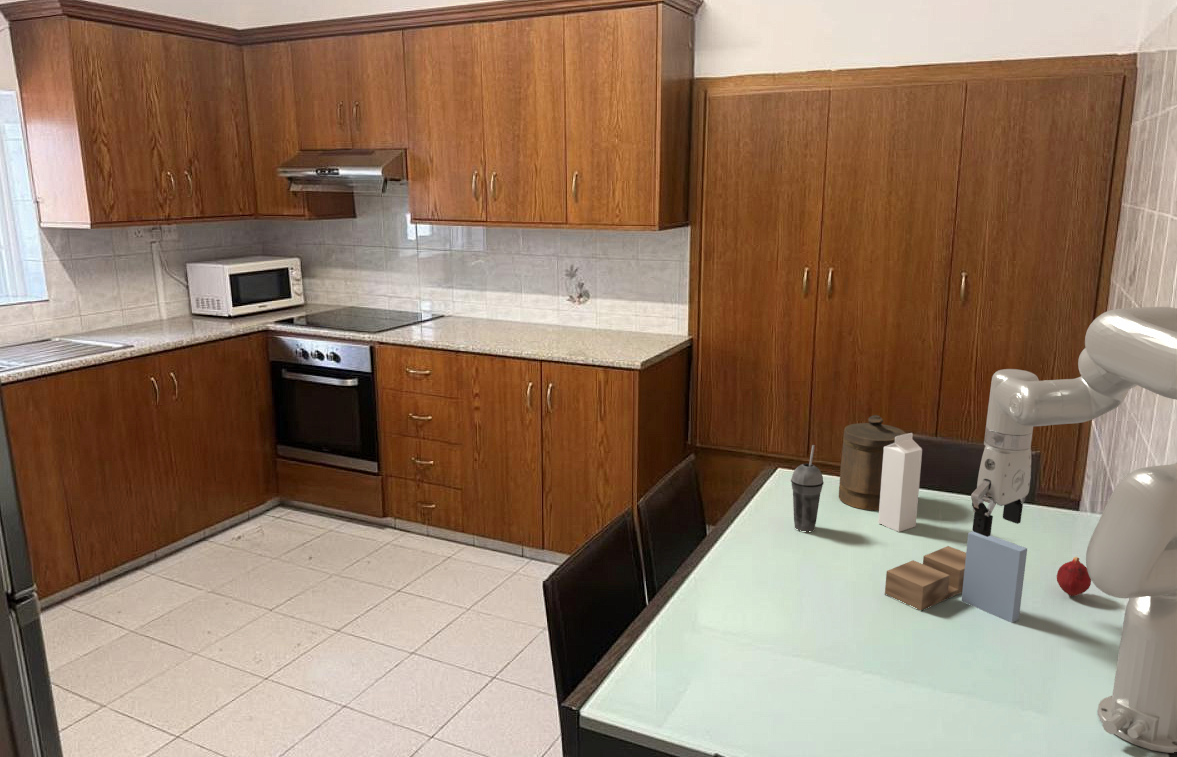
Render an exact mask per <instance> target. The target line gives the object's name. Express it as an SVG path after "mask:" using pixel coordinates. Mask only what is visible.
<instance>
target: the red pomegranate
mask: <svg viewBox="0 0 1177 757" xmlns="http://www.w3.org/2000/svg"><path fill="white" fill-rule="evenodd" d="M1056 582H1057V583H1058V586H1059V587H1060V588H1061V590H1062V591H1063V592H1064V593H1066V594H1067V595H1068V596H1069V597H1076V596H1080V595H1082V594H1084V593H1085V592H1087V591H1088V590H1089V588H1091V585H1092V580H1091V579H1090V577H1089V574H1088V571H1087V566H1085V565H1084V564H1083V563H1082V562H1080V558H1079V557H1078V556H1074V557H1073V558H1072V560H1071V561H1068V562H1065V563H1064V564H1062V565H1061V566H1060V567H1058V570H1057V574H1056Z"/></svg>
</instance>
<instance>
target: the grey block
mask: <svg viewBox="0 0 1177 757" xmlns="http://www.w3.org/2000/svg"><path fill="white" fill-rule="evenodd" d="M966 543H967V544H966V551H965V553H966V560H965V570H964V580H963V590H962V592H961V593H962V594H961V601H960V602H962V603H964V604H967V605H969V604H970V605H969V606H971V605H972V607H974V608H976V609H978V608H979V610H981V611H983V612H986V613H988V614H990V615H992V616H995V617H997V618H998V619H1002V620H1003V621H1006V622H1008V623H1011V624H1012V623H1014V622H1016V621H1018V620H1019V619H1020V614H1021V613H1020V612H1021V605H1022V604H1021V603H1022V595H1023V590H1024V589H1023V588H1024V587H1023V586H1024V580H1025V572H1026V562H1027V555H1028V554H1027V553H1028V548H1027V547H1025V546H1022V545H1019V544H1016V543H1013V542H1011V541H1008V540H1005V539H1003V538H999V537H997V536H993V535H992V534H991V535H990V536H988V537H986V536H984V535H981V534H978V533H976V532H974V531H973V530H972V531H970V532H968V533H967V542H966Z"/></svg>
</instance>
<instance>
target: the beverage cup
mask: <svg viewBox="0 0 1177 757" xmlns="http://www.w3.org/2000/svg"><path fill="white" fill-rule="evenodd" d="M810 450H811V452H810V457H809V463H802V464H800V465H798V466H797V467H796V468H795V469H794V471H793V472H792V476H791V479H790V482H791V489H792V500H793V501H792V502H793V505H792V506H793V522H794V523H793V524H794V529H795V528H796V529H798V530H801V531H806V532H805V533H810V532H809V531H813V530H814V529H816V524H817V519H818V512H819V505H820V504H819V503H820V497H821V493H822V489H823V485H824V484H825V483H824V477H823V474H822V472H821V470H820V469H819V467H817V466H816V465H814V464H813V459H814V452H815V445H814V444H812V445H811V449H810ZM796 529H795V530H796ZM814 531H815V530H814ZM814 531H813V532H814Z"/></svg>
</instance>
